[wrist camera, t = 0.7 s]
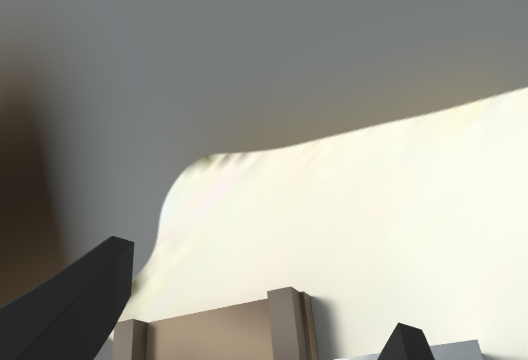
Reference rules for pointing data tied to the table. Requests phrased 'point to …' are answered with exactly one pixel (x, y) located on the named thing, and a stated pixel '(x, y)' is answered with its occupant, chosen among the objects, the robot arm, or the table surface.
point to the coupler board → (226, 332)
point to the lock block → (443, 352)
